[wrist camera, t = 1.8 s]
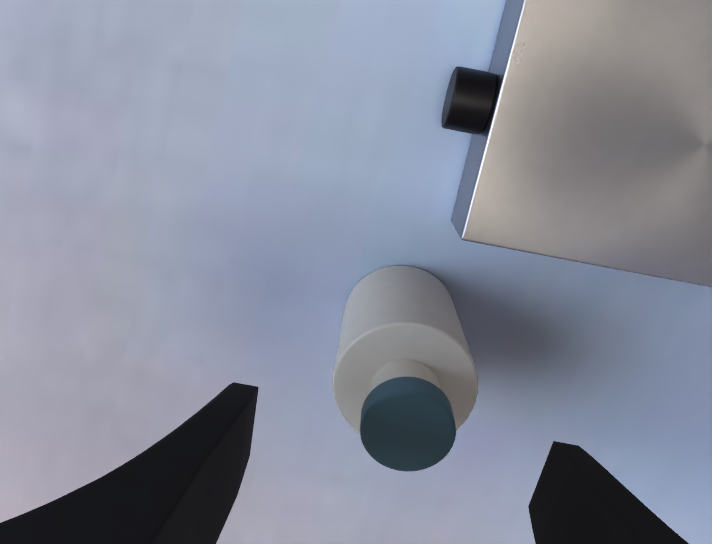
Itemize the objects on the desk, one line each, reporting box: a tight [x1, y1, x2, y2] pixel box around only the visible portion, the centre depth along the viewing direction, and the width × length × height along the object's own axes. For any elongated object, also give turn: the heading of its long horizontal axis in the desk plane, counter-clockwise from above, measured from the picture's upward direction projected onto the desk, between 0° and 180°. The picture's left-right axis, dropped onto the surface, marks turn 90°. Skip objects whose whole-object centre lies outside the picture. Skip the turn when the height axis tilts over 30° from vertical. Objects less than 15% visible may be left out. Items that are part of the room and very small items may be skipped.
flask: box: [442, 0, 712, 287], centre depth 15 cm, size 13×8×2 cm, turn 80°
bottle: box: [332, 266, 478, 471], centre depth 15 cm, size 4×4×7 cm
